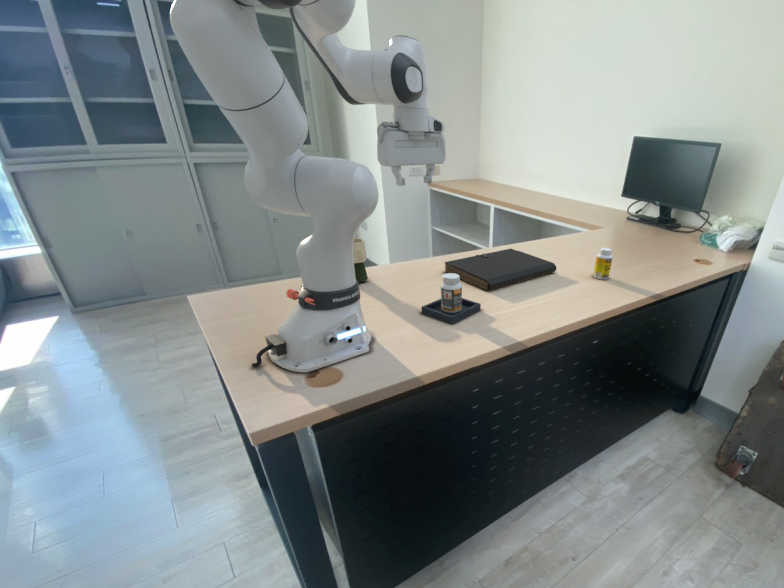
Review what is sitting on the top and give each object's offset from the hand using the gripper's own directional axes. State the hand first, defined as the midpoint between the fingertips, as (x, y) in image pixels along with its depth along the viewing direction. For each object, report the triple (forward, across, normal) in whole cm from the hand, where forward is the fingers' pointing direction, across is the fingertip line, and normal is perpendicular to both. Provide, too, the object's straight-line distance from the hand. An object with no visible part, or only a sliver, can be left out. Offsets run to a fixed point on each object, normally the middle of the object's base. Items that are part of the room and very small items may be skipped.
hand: (414, 184), depth 107 cm
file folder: (+31, +35, -4) cm, 47 cm away
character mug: (+31, -6, +24) cm, 40 cm away
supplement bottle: (+31, +58, -32) cm, 74 cm away
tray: (+31, -2, -15) cm, 35 cm away
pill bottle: (+31, -2, -15) cm, 34 cm away
